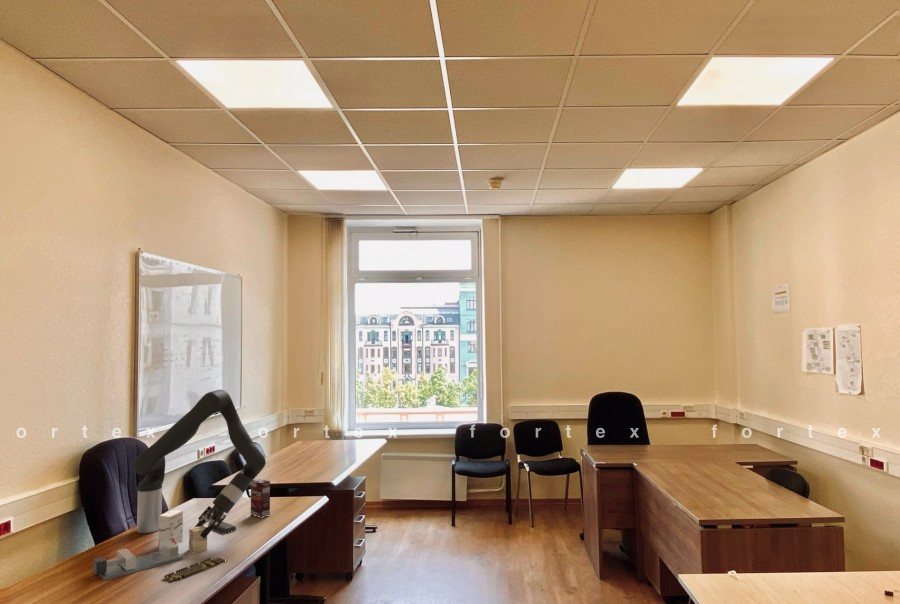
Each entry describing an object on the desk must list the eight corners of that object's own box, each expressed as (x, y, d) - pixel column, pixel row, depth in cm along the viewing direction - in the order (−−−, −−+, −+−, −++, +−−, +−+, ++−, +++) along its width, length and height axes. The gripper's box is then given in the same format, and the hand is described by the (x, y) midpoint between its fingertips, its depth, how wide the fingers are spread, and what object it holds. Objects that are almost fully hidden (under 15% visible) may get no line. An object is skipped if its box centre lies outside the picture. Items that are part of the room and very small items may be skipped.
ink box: (168, 547, 213) (168, 516, 214) (157, 547, 214) (157, 516, 215) (183, 539, 222) (183, 510, 223) (172, 539, 223) (173, 509, 224)
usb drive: (224, 535, 228) (224, 528, 228) (210, 529, 235) (210, 523, 235) (236, 531, 232) (236, 524, 232) (221, 526, 239) (221, 519, 239)
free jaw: (90, 568, 191) (91, 556, 191) (126, 559, 198) (126, 547, 199) (98, 577, 182) (98, 565, 183) (135, 568, 190) (135, 556, 190)
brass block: (188, 550, 210) (189, 528, 211) (202, 546, 213) (202, 525, 214) (193, 553, 206) (193, 531, 207) (207, 549, 210) (207, 528, 211)
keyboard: (172, 586, 179) (172, 580, 179) (156, 581, 183) (156, 575, 183) (229, 563, 197) (229, 557, 197) (213, 558, 202) (213, 553, 202)
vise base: (95, 570, 192) (96, 555, 192) (171, 551, 209) (172, 537, 209) (103, 580, 183) (104, 565, 184) (182, 559, 200) (182, 545, 201)
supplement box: (249, 515, 253) (250, 480, 254) (258, 513, 256) (259, 478, 258) (261, 518, 248) (261, 482, 249) (270, 515, 252) (270, 480, 253)
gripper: (214, 489, 223) (184, 525, 214) (228, 495, 213) (197, 533, 204) (227, 500, 226) (198, 535, 217) (242, 506, 216) (212, 544, 207)
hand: (198, 534), depth 210 cm, fingers open, 8 cm apart
